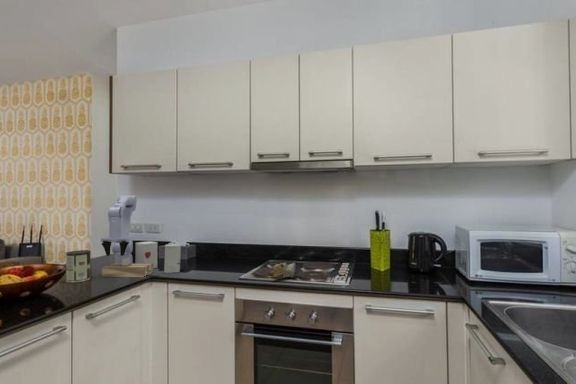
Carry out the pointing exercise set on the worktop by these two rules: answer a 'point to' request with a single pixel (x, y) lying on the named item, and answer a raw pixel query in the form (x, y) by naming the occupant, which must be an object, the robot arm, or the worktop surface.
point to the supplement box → (146, 253)
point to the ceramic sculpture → (282, 271)
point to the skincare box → (172, 258)
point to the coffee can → (78, 266)
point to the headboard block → (127, 270)
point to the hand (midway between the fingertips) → (115, 255)
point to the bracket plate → (125, 261)
